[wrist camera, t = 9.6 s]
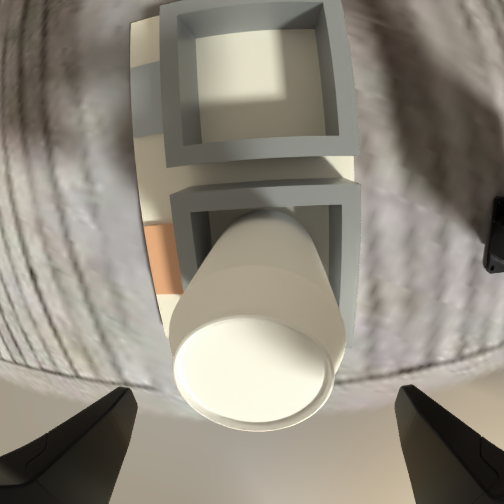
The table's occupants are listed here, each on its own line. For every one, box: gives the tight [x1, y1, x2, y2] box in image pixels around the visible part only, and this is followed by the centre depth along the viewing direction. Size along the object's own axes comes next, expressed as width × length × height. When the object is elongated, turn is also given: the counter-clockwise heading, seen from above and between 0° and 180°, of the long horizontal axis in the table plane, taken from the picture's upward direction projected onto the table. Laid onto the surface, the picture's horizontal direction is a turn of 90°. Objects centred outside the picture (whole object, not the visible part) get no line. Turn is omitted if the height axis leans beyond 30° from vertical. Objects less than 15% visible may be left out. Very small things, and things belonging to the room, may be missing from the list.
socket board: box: [130, 0, 361, 348], centre depth 17 cm, size 14×24×5 cm, turn 4°
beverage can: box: [169, 210, 346, 431], centre depth 14 cm, size 6×6×12 cm
